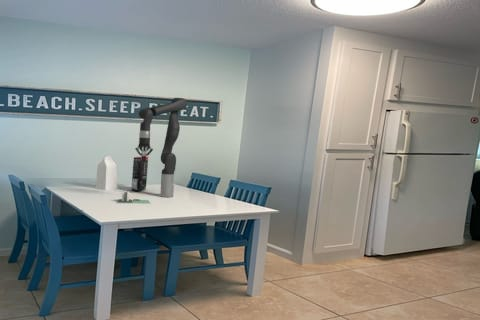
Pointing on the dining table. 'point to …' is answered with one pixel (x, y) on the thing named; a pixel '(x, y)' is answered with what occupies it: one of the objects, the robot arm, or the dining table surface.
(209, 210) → the dining table surface
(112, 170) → the milk
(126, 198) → the plug
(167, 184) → the robot arm
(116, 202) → the board
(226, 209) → the dining table surface
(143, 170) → the graphics card box
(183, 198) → the dining table surface
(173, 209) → the dining table surface
